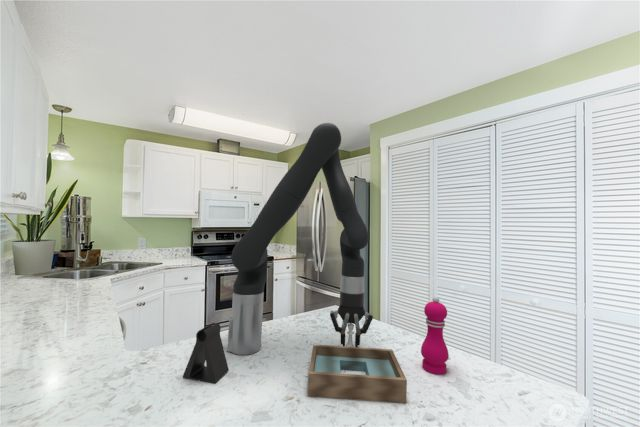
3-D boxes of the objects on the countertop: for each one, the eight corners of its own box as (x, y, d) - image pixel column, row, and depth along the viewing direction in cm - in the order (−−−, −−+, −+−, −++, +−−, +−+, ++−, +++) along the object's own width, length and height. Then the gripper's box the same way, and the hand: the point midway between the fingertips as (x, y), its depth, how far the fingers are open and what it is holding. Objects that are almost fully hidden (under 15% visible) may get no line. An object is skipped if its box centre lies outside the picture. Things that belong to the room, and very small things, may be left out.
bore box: (307, 396, 64) (308, 373, 65) (312, 362, 80) (313, 344, 81) (406, 403, 63) (406, 380, 64) (391, 367, 79) (392, 349, 79)
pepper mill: (447, 365, 82) (448, 295, 83) (449, 378, 75) (451, 301, 76) (420, 360, 84) (422, 292, 85) (420, 372, 77) (422, 297, 78)
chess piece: (357, 355, 86) (358, 322, 86) (340, 353, 87) (342, 320, 87) (358, 349, 91) (359, 317, 91) (342, 347, 92) (344, 315, 92)
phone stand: (182, 378, 70) (185, 328, 70) (197, 366, 75) (200, 320, 76) (215, 384, 68) (218, 332, 68) (228, 371, 74) (231, 324, 74)
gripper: (329, 291, 86) (327, 349, 85) (376, 294, 86) (374, 352, 85) (329, 286, 94) (327, 339, 93) (373, 288, 93) (371, 342, 92)
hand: (350, 345), depth 89 cm, fingers open, 3 cm apart
